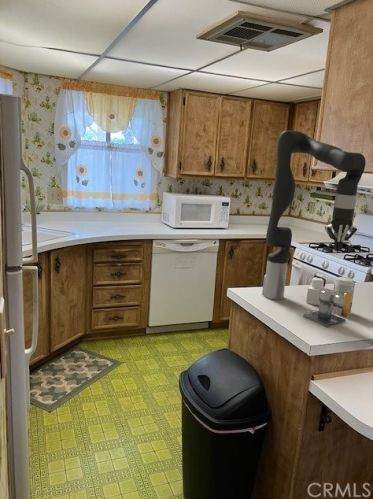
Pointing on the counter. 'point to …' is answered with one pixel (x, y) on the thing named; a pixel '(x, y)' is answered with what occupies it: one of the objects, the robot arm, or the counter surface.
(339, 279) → the supplement can
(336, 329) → the counter surface
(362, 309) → the counter surface
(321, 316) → the grey stand with base
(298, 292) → the counter surface
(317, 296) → the medicine bottle
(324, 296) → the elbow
